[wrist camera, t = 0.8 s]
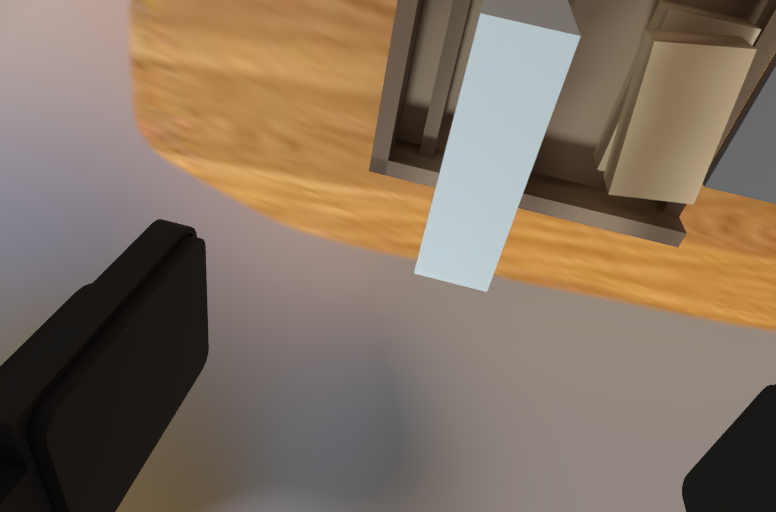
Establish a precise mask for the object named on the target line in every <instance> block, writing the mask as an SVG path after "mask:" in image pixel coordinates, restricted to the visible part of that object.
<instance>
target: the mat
mask: <svg viewBox="0 0 776 512" xmlns="http://www.w3.org/2000/svg"><path fill="white" fill-rule="evenodd" d="M703 185H704V187H708V188H712V189H716V190H720V191H724V192H729V193H733V194H737V195H741V196H745V197H749V198H754V199H758V200H762V201H766V202H770V203H774V204H776V53H775V55H774V57H773V59H772V60H771V62H770V64H769V66H768V67H767V69H766V71H765V72H764V74H763V76H762V78H761V79H760V81H759V83H758V84H757V86H756V88H755V90H754V91H753V93H752V95H751V96H750V98H749V100H748V102H747V103H746V105H745V107H744V108H743V110H742V112H741V114H740V115H739V117H738V119H737V120H736V122H735V124H734V126H733V127H732V129H731V131H730V133H729V134H728V136H727V138H726V139H725V141H724V143H723V145H722V146H721V148H720V150H719V151H718V153H717V155H716V157H715V158H714V160H713V162H712V163H711V165H710V167H709V169H708V171H707V173H706V176H705V178H704V181H703Z"/></svg>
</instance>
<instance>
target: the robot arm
mask: <svg viewBox="0 0 776 512" xmlns="http://www.w3.org/2000/svg"><path fill="white" fill-rule="evenodd" d="M206 283H207V282H206V250H205V242H204V240H203V239H201V238H197V235H196V231H195V229H194V228H192V227H189V226H185V225H181V224H178V223H174V222H170V221H165V220H162V219H159V220H156V221H155V222H153V223H152V224H151V225H150V226H149V227H148V228H147V229H146V230H145V231H144V232H143V233H142V234H141V235H140V236H139V237H138V238H137V239H136V240H135V241H134V242H133V243H132V244H131V245H130V246H129V247H128V248H127V249H126V250H125V251H124V252H123V253H122V254H121V255H120V256H119V257H118V258H117V259H116V260H115V261H114V262H113V263H112V264H111V265H110V266H109V267H108V268H107V269H106V270H105V271H104V272H103V273H102V274H101V275H100V276H99V277H98V278H97V280H95V281H94V282H93V283H92V284H88V285H85V286H83V287H82V288H81V289H79V290H78V291H77V292H75V293H74V294H73V295H72V296H71V297H70V299H68V300H67V301H66V302H65V303H64V304H63V305H62V306H61V307H60V308H59V309H58V310H57V311H56V312H55V313H54V314H53V315H52V316H51V317H50V318H49V319H48V320H47V321H46V322H45V323H44V324H43V325H42V326H41V327H40V328H39V329H38V330H37V331H36V332H35V333H34V334H33V335H32V336H31V337H30V338H29V339H28V340H27V341H26V342H25V343H24V344H23V345H22V346H21V347H20V348H19V349H18V350H17V351H16V352H15V353H14V354H12V356H10V357H9V359H7V360H6V361H5V362H4V363H3V364H2V365H1V366H0V512H115V511H116V510H117V508H118V506H119V505H120V503H121V502H122V500H123V498H124V497H125V495H126V493H127V492H128V490H129V488H130V487H131V485H132V483H133V482H134V480H135V479H136V477H137V475H138V474H139V472H140V470H141V469H142V467H143V466H144V464H145V462H146V461H147V459H148V457H149V456H150V454H151V453H152V451H153V449H154V448H155V446H156V444H157V443H158V441H159V439H160V438H161V436H162V434H163V433H164V431H165V429H166V428H167V426H168V425H169V423H170V421H171V420H172V418H173V416H174V415H175V413H176V412H177V410H178V408H179V407H180V405H181V403H182V402H183V400H184V399H185V397H186V395H187V394H188V392H189V390H190V389H191V387H192V386H193V384H194V382H195V381H196V379H197V377H198V376H199V374H200V373H201V371H202V369H203V367H204V365H205V363H206V360H207V356H208V348H209V345H208V314H207V284H206ZM682 496H683V501H684V504H685V508H686V512H776V384H775V385H769V386H767V387H765V388H764V389H763V390H762V391H761V392H760V394H759V395H758V396H757V397H756V398H755V399H754V400H753V401H752V403H750V405H749V406H748V407H747V408H746V409H745V410H744V411H743V413H742V414H741V415H740V416H739V417H738V418H737V419H736V420H735V421H734V423H733V424H732V425H731V426H730V427H729V428H728V429H727V431H725V433H724V434H723V435H722V436H721V437H720V438H719V439H718V440H717V442H716V443H715V444H714V445H713V446H712V447H711V448H710V449H709V451H708V452H707V453H706V454H705V455H704V456H703V457H702V458H701V460H700V461H699V462H698V463H697V464H696V465H695V466H694V467H693V468H692V470H691V471H690V472H689V473H688V474H687V476H686V477H685V479H684V482H683V487H682Z"/></svg>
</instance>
